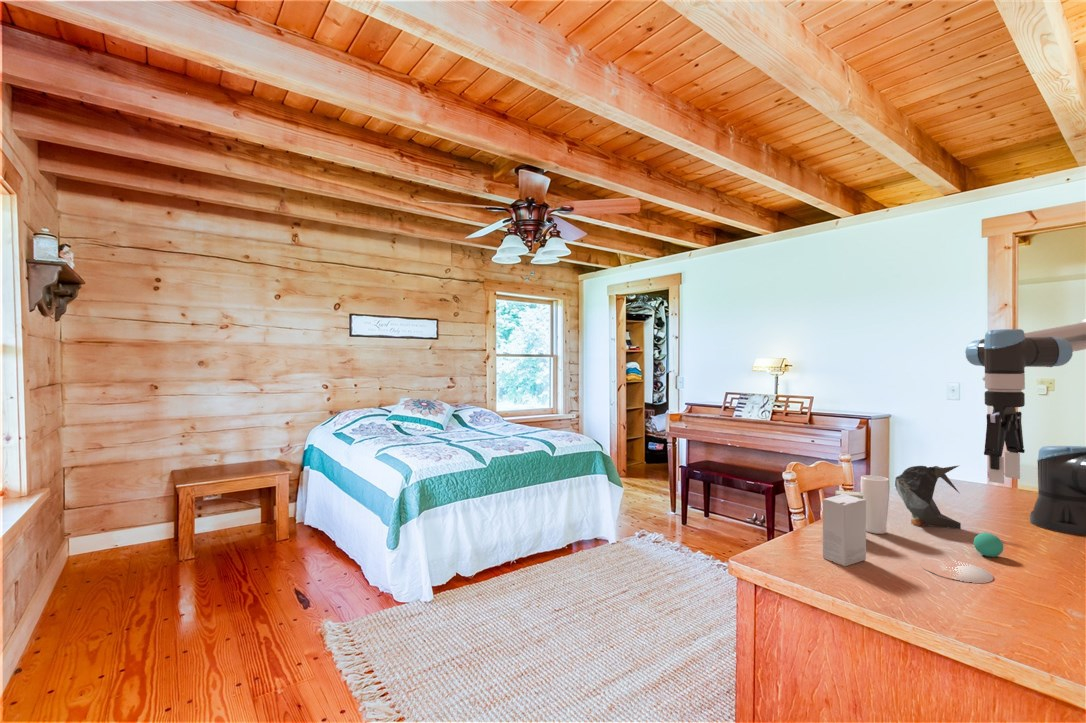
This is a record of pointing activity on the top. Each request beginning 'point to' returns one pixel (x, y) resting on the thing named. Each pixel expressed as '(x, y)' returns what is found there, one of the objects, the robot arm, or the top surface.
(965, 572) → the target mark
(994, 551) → the ball
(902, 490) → the bird figurine
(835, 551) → the skincare box
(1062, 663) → the top surface
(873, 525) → the drinking glass
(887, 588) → the top surface
